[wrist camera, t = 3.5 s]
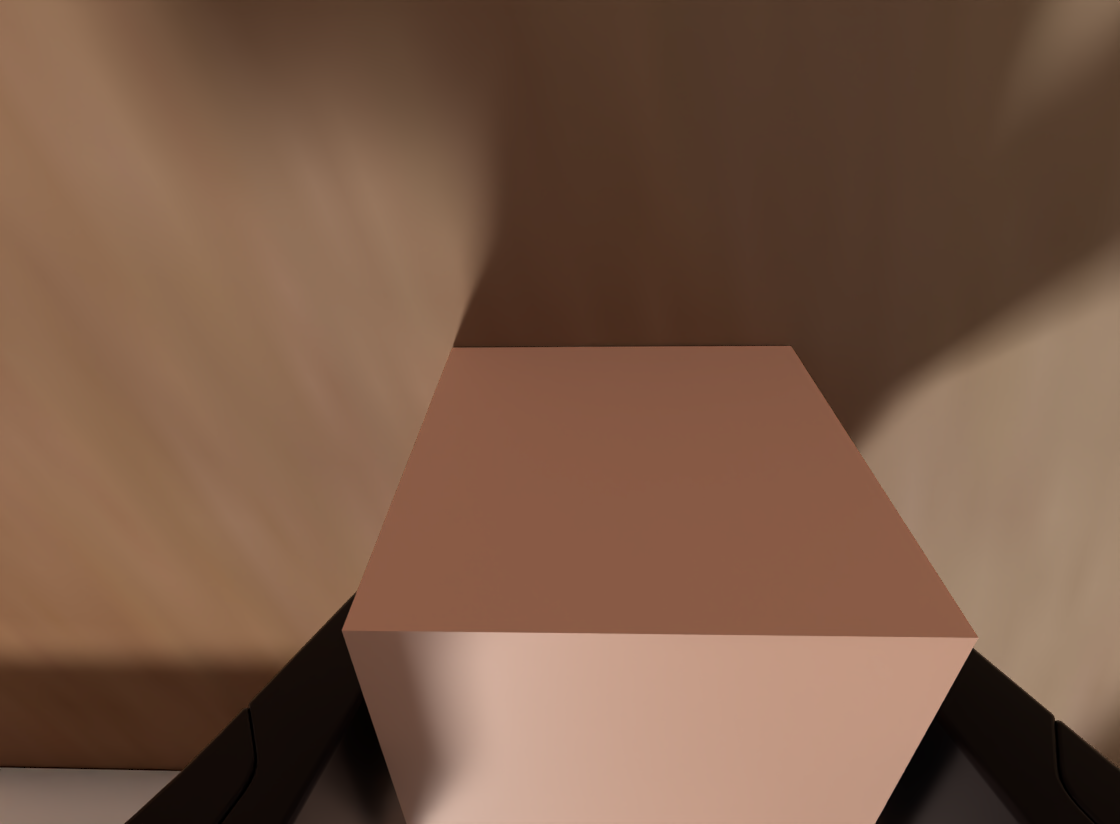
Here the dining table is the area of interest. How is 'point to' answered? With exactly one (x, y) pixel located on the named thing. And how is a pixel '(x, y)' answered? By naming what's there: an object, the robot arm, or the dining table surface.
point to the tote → (76, 794)
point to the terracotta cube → (646, 598)
